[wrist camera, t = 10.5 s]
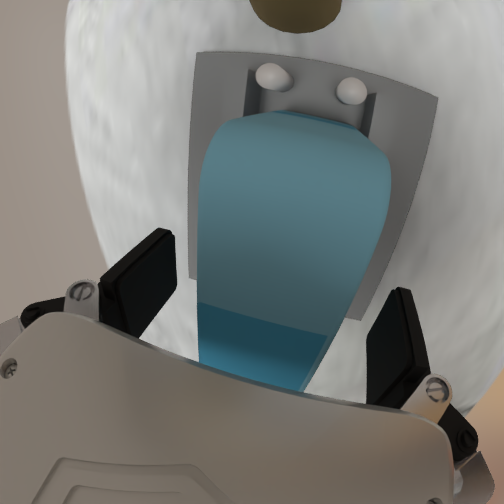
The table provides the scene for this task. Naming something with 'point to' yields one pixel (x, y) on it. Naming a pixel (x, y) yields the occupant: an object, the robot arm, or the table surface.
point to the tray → (320, 105)
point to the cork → (297, 14)
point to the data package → (283, 241)
